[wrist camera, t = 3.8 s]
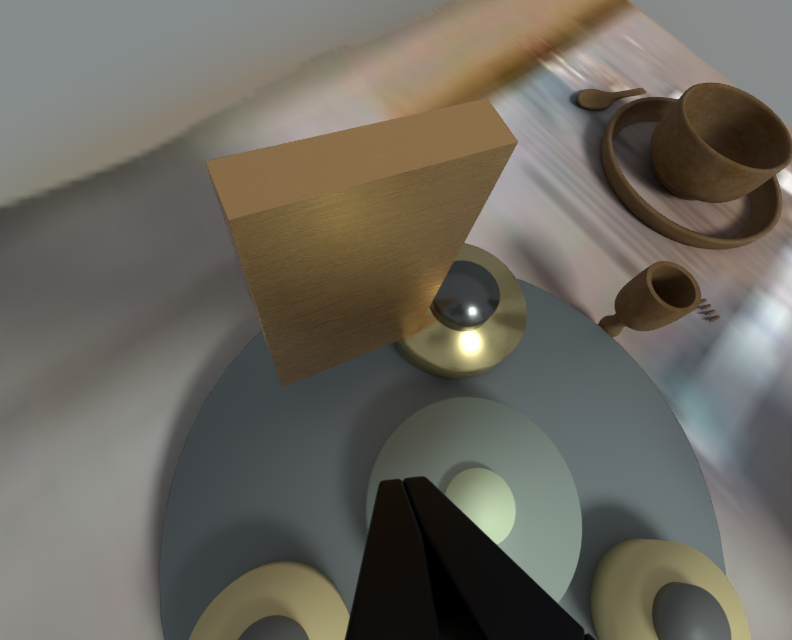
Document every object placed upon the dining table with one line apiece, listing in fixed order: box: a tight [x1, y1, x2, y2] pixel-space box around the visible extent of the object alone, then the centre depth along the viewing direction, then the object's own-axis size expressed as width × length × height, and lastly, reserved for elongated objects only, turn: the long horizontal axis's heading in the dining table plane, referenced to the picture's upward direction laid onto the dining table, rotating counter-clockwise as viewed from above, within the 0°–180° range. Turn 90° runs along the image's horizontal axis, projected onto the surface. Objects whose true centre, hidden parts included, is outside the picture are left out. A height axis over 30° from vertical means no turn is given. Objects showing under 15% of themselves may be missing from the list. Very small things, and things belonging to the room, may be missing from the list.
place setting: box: [576, 83, 792, 337], centre depth 25 cm, size 18×20×6 cm
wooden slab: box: [205, 98, 527, 388], centre depth 14 cm, size 11×6×12 cm, turn 116°
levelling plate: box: [159, 279, 751, 640], centre depth 16 cm, size 22×22×3 cm
